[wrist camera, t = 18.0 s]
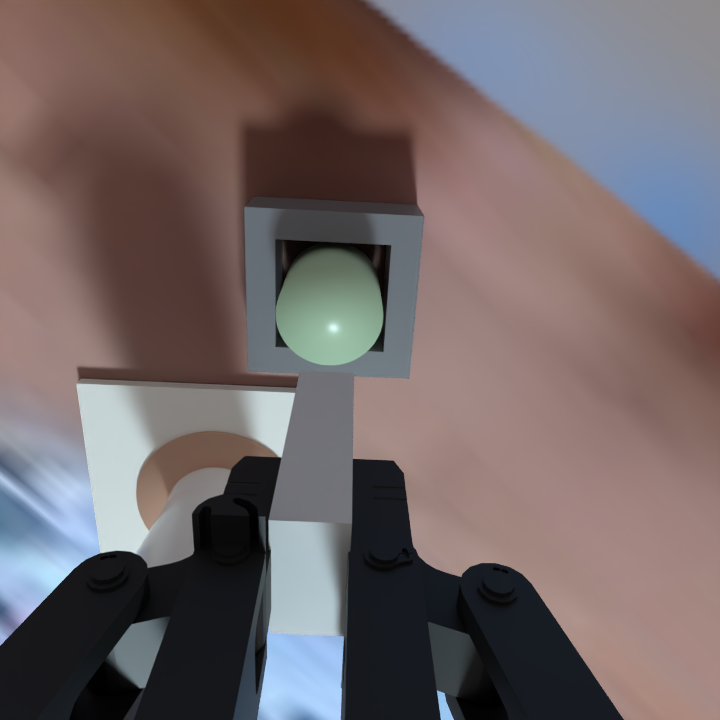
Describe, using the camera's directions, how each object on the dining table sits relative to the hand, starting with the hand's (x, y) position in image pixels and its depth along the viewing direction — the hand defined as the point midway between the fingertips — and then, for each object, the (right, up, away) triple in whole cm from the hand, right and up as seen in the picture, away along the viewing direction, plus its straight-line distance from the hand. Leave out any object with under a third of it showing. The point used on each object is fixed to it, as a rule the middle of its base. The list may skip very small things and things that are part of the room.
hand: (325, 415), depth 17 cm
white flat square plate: (-7, -6, +18) cm, 20 cm away
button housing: (0, +6, +13) cm, 14 cm away
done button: (0, +5, +11) cm, 12 cm away
